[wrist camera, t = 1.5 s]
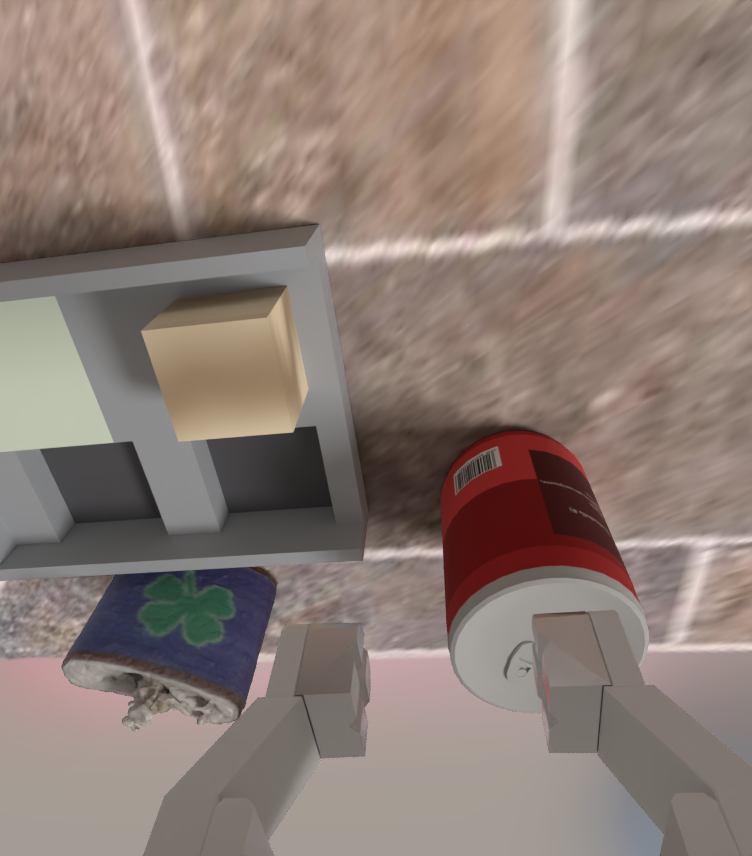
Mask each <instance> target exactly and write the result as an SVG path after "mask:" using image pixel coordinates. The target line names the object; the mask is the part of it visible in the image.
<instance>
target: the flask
mask: <svg viewBox="0 0 752 856" xmlns="http://www.w3.org/2000/svg"><path fill="white" fill-rule="evenodd" d="M277 584H278V582H277V577H276V576H274V575H273V574H272V573H271V572H270V571H268V570H266V569H265V568H263V567H261V566H256V567H238V568H220V569H202V570H185V571H167V572H149V573H131V574H116V575H115V576H114V578H113V580H112V582H111V583H110V585H109V586H108V588H107V590H106V591H105V593H104V595H103V597H102V598H101V600H100V601H99V603H98V605H97V607H96V608H95V610H94V611H93V613H92V614H91V616H90V618H89V620H88V621H87V623H86V625H85V627H84V628H83V630H82V632H81V634H80V635H79V636H78V638H77V640H76V641H75V643H74V644H73V646H72V647H71V649H70V651H69V652H68V654H67V657H66V658H65V659H64V661H63V664H62V670H63V672H64V675H65V676H66V677H67V678H68V679H69V681H70V683H72V684H74V685H76V686H79V687H83V688H87V689H95V690H100V691H105V692H113V693H116V694H121V695H125V696H132V697H134V701H130V702H129V703H128V706H130V708H129V710H128V716H126V717H124V718H123V719H122V723H123V725H124V726H127V727H129V728H131V729H132V730H133V731H139V728H138V727H137V726H136V725H135V723H137V724H140V725H142V726H146V725H147V724H148V725H151V722H150V719H151V718H152V717H153V716H154V714H157V713H164V712H167V711H168V710H169V709H170V708H172V709H173V710H179V711H180V712H181V713H183V714H185V715H187V716H193V717H195V718H197V724H199V725H202V724H204V723H208V722H210V723H213V724H222V723H230V722H232V721H235V720H237V719H238V718H239V717H240V715H241V712H242V709H244V707H245V705H246V699H247V696H248V692H249V689H250V685H251V683H252V679H253V676H254V672H255V669H256V664H257V659H258V655H259V652H260V649H261V646H262V643H263V639H264V635H265V631H266V628H267V625H268V621H269V618H270V614H271V610H272V607H273V604H274V600H275V596H276V586H277Z"/></svg>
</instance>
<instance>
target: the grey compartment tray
mask: <svg viewBox="0 0 752 856" xmlns="http://www.w3.org/2000/svg"><path fill="white" fill-rule="evenodd" d="M281 286H287V287H288V292H289V297H290V301H291V306H292V311H293V316H294V321H295V326H296V331H297V336H298V340H299V345H300V350H301V355H302V360H303V365H304V370H305V375H306V379H307V384H308V392H307V395H306V398H305V401H304V404H303V406H302V409H301V412H300V415H299V418H298V421H297V423H296V426H295V429H294V432H292V433H279V434H267V435H255V436H243V437H231V438H219V439H207V440H194V441H182V442H178V439H177V436H176V433H175V430H174V427H173V424H172V421H171V418H170V415H169V412H168V409H167V406H166V403H165V401H164V398H163V395H162V392H161V389H160V386H159V383H158V380H157V377H156V374H155V371H154V368H153V365H152V362H151V359H150V356H149V354H148V351H147V348H146V345H145V342H144V339H143V336H142V333H141V330H142V329H143V328H145V327H146V326H147V325H148V324H149V323H150V322H151V321H152V320H153V319H154V318H156V317H157V316H158V315H159V314H160V313H161V312H162V311H163V310H164V309H165V308H167V307H168V306H169V305H170V304H171V303H172V302H173V301H174V300H175V299H176V298H182V297H191V296H200V295H209V294H218V293H227V292H236V291H245V290H254V289H263V288H272V287H281ZM367 521H368V506H367V500H366V494H365V488H364V482H363V476H362V471H361V465H360V459H359V453H358V447H357V441H356V435H355V429H354V423H353V417H352V411H351V406H350V400H349V394H348V388H347V382H346V376H345V370H344V364H343V358H342V352H341V346H340V341H339V335H338V329H337V323H336V317H335V311H334V305H333V299H332V293H331V287H330V282H329V276H328V270H327V264H326V258H325V252H324V246H323V240H322V234H321V228H320V224H317V225H309V226H301V227H293V228H285V229H276V230H268V231H260V232H252V233H244V234H236V235H228V236H220V237H211V238H203V239H195V240H187V241H179V242H171V243H163V244H154V245H146V246H138V247H130V248H122V249H114V250H106V251H97V252H89V253H81V254H73V255H65V256H57V257H49V258H40V259H32V260H24V261H16V262H8V263H0V581H6V580H24V579H42V578H60V577H78V576H96V575H113V574H131V573H149V572H167V571H185V570H202V569H220V568H238V567H256V566H274V565H291V564H309V563H327V562H345V561H363V556H364V547H365V539H366V530H367Z"/></svg>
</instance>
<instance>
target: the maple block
mask: <svg viewBox="0 0 752 856" xmlns="http://www.w3.org/2000/svg"><path fill="white" fill-rule="evenodd" d="M141 333H142V336H143V339H144V342H145V345H146V348H147V351H148V354H149V356H150V359H151V362H152V365H153V368H154V371H155V374H156V377H157V380H158V383H159V386H160V389H161V392H162V395H163V398H164V401H165V403H166V406H167V409H168V412H169V415H170V418H171V421H172V424H173V427H174V430H175V433H176V436H177V439H178V442H182V441H194V440H207V439H219V438H231V437H243V436H255V435H267V434H279V433H292V432H294V429H295V426H296V423H297V421H298V418H299V415H300V412H301V409H302V406H303V404H304V401H305V398H306V395H307V392H308V384H307V379H306V375H305V370H304V365H303V360H302V355H301V350H300V345H299V340H298V336H297V331H296V326H295V321H294V316H293V311H292V306H291V301H290V297H289V292H288V287H287V286H281V287H272V288H263V289H254V290H245V291H236V292H227V293H218V294H209V295H200V296H191V297H182V298H176V299H175V300H174V301H173V302H172V303H171V304H170V305H169V306H168V307H167V308H165V309H164V310H163V311H162V312H161V313H160V314H159V315H158V316H157V317H156V318H154V319H153V320H152V321H151V322H150V323H149V324H148V325H147V326H146V327H145V328H143V329H142V330H141Z"/></svg>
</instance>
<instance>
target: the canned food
mask: <svg viewBox="0 0 752 856" xmlns="http://www.w3.org/2000/svg"><path fill="white" fill-rule="evenodd" d="M441 516H442V538H443V559H444V580H445V601H446V622H447V633H448V649H449V652H450V658H451V663H452V666H453V670H454V672H455V674H456V676H457V677H458V679H459V681H460V682H461V684H462V685H464V687H466V689H468V691H470V692H471V693H472V694H473V695H475V696H476V697H478V698H479V699H481V700H483V701H484V702H487V703H489V704H491V705H494V706H496V707H499V708H503V709H507V710H510V711H515V712H523V713H542V700H541V699H540V698H539V697H538V695H537V690H536V684H535V678H534V671H533V659H532V644H533V643H534V642H535V641H534V636H533V631H532V616H533V614H543V613H561V612H578V611H585V612H587V611H602V610H615V611H616V612H617V613H618V614H619V617H620V620H621V622H622V625H623V627H624V630H625V633H626V635H627V638H628V640H629V643H630V646H631V648H632V651H633V654H634V656H635V659H636V661H637V664H638V667H639V668H640V666H641V664H642V662H643V660H644V659H645V657H646V654H647V649H648V645H649V631H648V627H647V624H646V620H645V615H644V612H643V610H642V607H641V604H640V602H639V600H638V597H637V595H636V592H635V589H634V587H633V584H632V582H631V579H630V577H629V575H628V572H627V570H626V568H625V565H624V563H623V561H622V558H621V556H620V554H619V551H618V549H617V547H616V545H615V542H614V540H613V538H612V535H611V533H610V531H609V528H608V526H607V524H606V521H605V519H604V517H603V514H602V512H601V510H600V508H599V505H598V503H597V501H596V498H595V496H594V494H593V491H592V489H591V487H590V484H589V482H588V480H587V477H586V475H585V473H584V471H583V468H582V466H581V464H580V463H579V461H578V460H577V459H576V457H575V456H574V455H573V454H572V453H571V452H570V451H569V450H568V449H566V448H565V447H564V446H563V445H561V444H560V443H559V442H557V441H555V440H554V439H552V438H550V437H548V436H546V435H543V434H539V433H536V432H530V431H522V430H520V431H506V432H501V433H497V434H493V435H491V436H488V437H486V438H483V439H481V440H479V441H478V442H476V443H474V444H473V445H471V446H470V447H468V448H467V449H466V450H465V451H464V452H463V453H462V454H461V455H460V456H459V457H458V458H457V459H456V461H455V462H454V463H453V465H452V467H451V469H450V471H449V473H448V475H447V477H446V479H445V481H444V484H443V488H442V493H441Z"/></svg>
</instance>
